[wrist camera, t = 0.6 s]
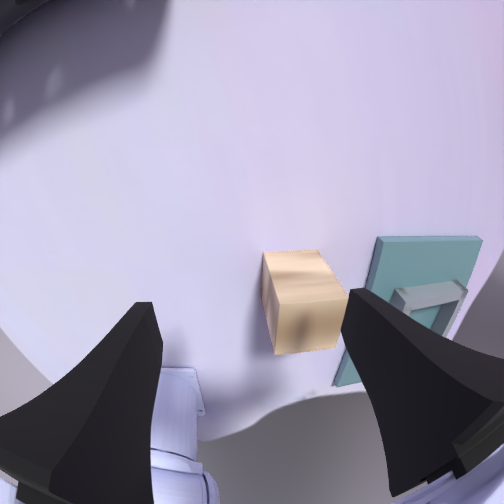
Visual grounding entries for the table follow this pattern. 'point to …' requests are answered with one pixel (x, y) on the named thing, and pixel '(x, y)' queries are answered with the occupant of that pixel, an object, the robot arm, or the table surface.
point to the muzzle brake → (16, 11)
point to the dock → (419, 282)
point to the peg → (301, 301)
